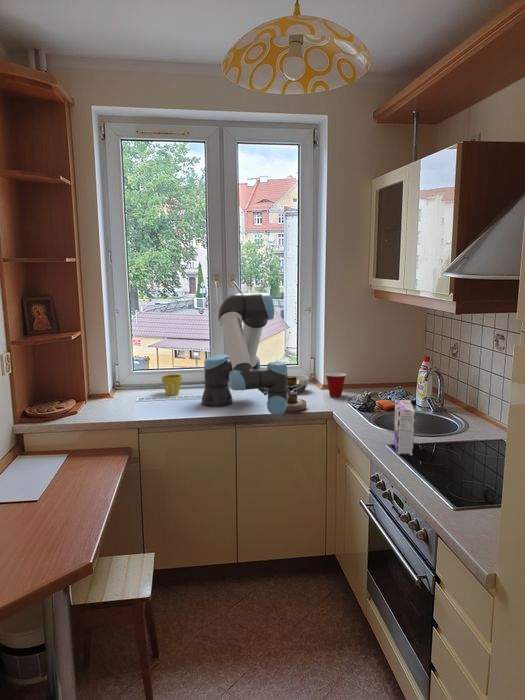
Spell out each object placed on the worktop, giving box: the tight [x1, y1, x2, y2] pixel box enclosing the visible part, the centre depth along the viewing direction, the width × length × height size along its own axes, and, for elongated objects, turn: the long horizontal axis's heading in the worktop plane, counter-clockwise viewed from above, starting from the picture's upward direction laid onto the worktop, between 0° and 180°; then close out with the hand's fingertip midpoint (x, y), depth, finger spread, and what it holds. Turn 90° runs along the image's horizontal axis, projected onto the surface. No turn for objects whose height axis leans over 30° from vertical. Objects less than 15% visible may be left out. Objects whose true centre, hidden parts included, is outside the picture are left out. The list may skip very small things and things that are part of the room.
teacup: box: [292, 374, 310, 390], centre depth 263 cm, size 15×12×8 cm
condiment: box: [287, 375, 302, 405], centre depth 230 cm, size 7×8×12 cm
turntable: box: [285, 398, 307, 411], centre depth 231 cm, size 15×15×2 cm
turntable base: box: [284, 409, 304, 413], centre depth 232 cm, size 12×12×1 cm
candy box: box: [393, 399, 416, 456], centre depth 179 cm, size 14×6×16 cm, turn 169°
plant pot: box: [161, 373, 183, 396], centre depth 259 cm, size 10×10×10 cm
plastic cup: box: [325, 372, 347, 398], centre depth 251 cm, size 11×11×12 cm
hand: (282, 382), depth 219 cm, fingers open, 13 cm apart
